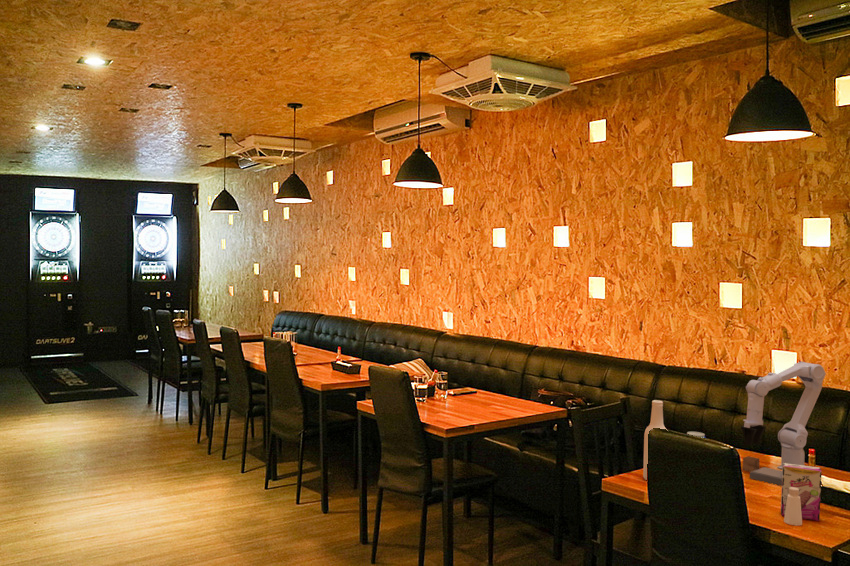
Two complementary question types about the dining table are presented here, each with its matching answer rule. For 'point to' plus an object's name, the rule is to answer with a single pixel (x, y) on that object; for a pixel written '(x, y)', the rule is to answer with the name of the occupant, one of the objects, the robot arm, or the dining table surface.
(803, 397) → the robot arm
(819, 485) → the candy bar box
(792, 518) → the salt shaker
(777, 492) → the dining table surface
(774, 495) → the dining table surface
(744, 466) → the block
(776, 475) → the tray
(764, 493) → the dining table surface
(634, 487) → the dining table surface
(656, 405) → the alcohol
